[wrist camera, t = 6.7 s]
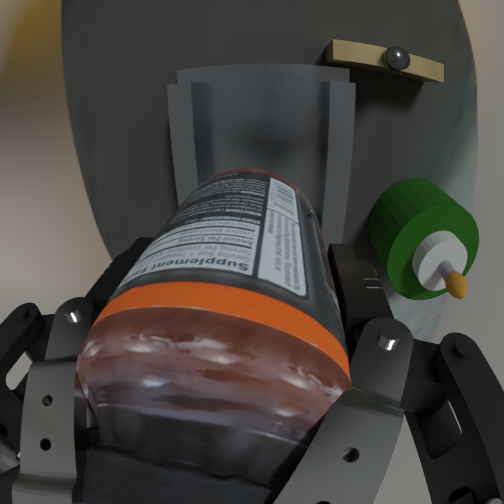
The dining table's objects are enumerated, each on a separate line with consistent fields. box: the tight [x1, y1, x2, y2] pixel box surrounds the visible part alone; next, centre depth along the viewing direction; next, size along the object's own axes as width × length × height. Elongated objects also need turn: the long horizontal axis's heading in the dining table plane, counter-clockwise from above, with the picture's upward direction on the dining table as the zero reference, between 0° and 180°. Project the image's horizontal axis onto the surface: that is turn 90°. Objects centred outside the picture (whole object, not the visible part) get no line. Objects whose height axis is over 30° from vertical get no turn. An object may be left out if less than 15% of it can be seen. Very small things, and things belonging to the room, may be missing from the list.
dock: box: [167, 64, 356, 252], centre depth 19 cm, size 14×12×4 cm
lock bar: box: [326, 39, 444, 83], centre depth 14 cm, size 2×8×4 cm, turn 91°
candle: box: [368, 178, 479, 300], centre depth 18 cm, size 8×8×10 cm
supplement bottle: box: [77, 168, 351, 504], centre depth 7 cm, size 6×6×11 cm
